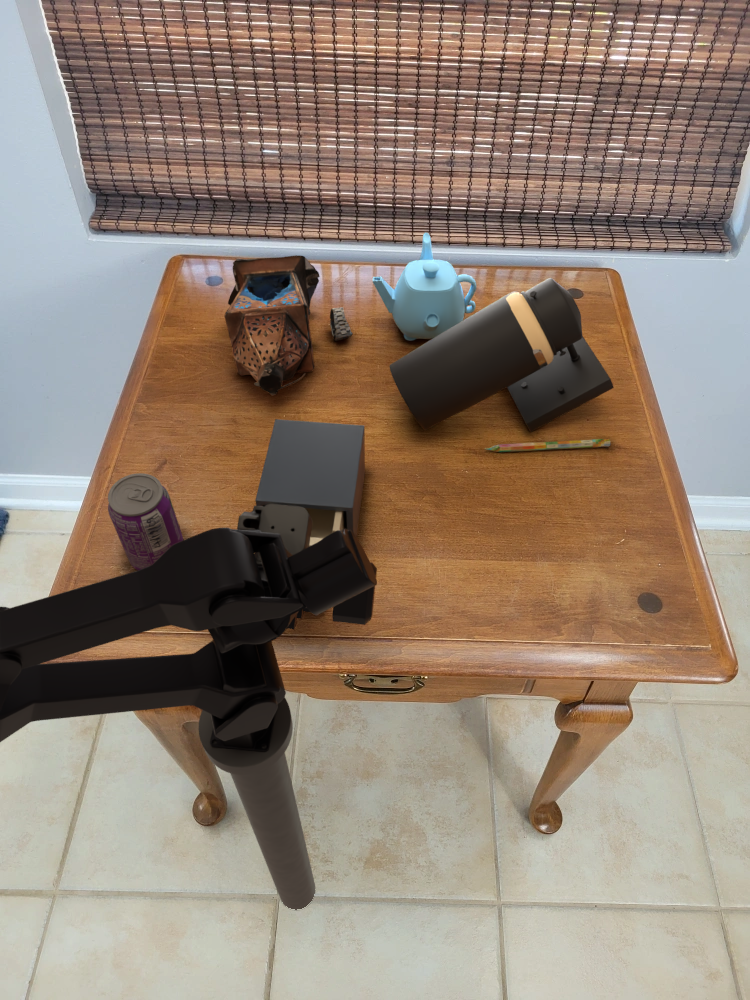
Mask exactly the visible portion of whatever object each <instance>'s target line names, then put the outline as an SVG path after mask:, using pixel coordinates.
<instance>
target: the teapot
mask: <svg viewBox="0 0 750 1000" xmlns="http://www.w3.org/2000/svg"><path fill="white" fill-rule="evenodd" d="M432 248H433V247H432V239H431V235H430V233H429V232H424V233H423V235H422V247H421V252H420V257H419V259H416V260H412V261H410V262H408V263H407V264H406V266H405V267H404V269H403V270H402V272H401V274H400V276H399V278H398V280H397V282H396V284H395V288H392V286H391V285H390V284H389V283H388V282H387V281H386V280H385V279H384V278H383V276H372V284H373V285H374V287H375V289H376V291H377V293H378V295H379V297H380V298H381V300H382V302H383V304H384V306H385V308H386V310H387V312H388V313H389V314H391V316H392V319H393V321H394V323H395V325H396V327H397V328H398V329H399V331H400V332H401V333H402V334H403V338H404V339H405V340H406V341H410V342H412V341H415V340H417V339H421V340H422V339H424V340H431V339H433V338H434V337H436V336H438V335H439V334H441V333H443V332H444V331H446V330H448V329H449V328H451V327H453V326H454V325H456V324H458V323H459V322H461V321H463V320H465V314H471V313H474V312H475V310H476V303H475V301H474V300H472V299H473V298H474V295H475V293H476V291H477V281H476V279H475V278H474V277H473V276H471V275H469V274H466V273H465V274H464V273H462V274H457V272H456V270H455V268H454V266H453V265H452V264H451V263H450V262H448V261H446V260H443V259H434V255H433V249H432ZM461 283H469V284H470V288H469V290H468V291H467V294H466V295H465V294H464V289H463V287H462V284H461Z"/></svg>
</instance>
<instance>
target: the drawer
mask: <svg viewBox="0 0 750 1000" xmlns="http://www.w3.org/2000/svg"><path fill="white" fill-rule="evenodd" d="M305 509H306V510H307V511H308V513H309V515H310V517H311V519H312V522H313V525H312V530H311V537H310V544H309V546H311V545H313V544H315V543H317V542H319V541H320V540H322V539H323V538H325V537H326V536H328V535H329V534H331V533H333V532H335V531H337V530H341V531H342V530H344V529H346V528H347V518H346V511H335V510H323V509H310V508H305Z"/></svg>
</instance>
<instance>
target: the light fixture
mask: <svg viewBox="0 0 750 1000" xmlns="http://www.w3.org/2000/svg"><path fill="white" fill-rule="evenodd" d="M388 367H389V372H390V374H391V377H392V380H393V382H394V384H395V386H396V388H397V390H398V393H399V394H400V396H401V398H402V401H404V403H405V405H406V407H407V409H408V410H409V411H410V413H411V415H412V417H413V418H414V419H415V421H416V422H417V423H418V425H419V426H420V427H421V428H422V429H423V430H424V431H427V430H429V429H431V428H433V427H435V426H437V425H438V424H440V423H443V422H444V421H446V420H448V419H450V418H452V417H454V416H456V415H458V414H459V413H462V412H464V411H465V410H467V409H469V408H471V407H473V406H475V405H477V404H478V403H481V402H482V401H485V400H486V399H488V398H490V397H492V396H494V395H495V394H497V393H499V392H501V391H503V390H505V389H507V390H508V392H509V395H510V397H511V398H512V400H513V402H514V404H515V405H516V408H517V410H518V411H519V414H520V416H521V417H522V419H523V421H524V424H525V425H526V427H527V428H528V431H529V432H530V433H532V432H534V431H536V430H537V429H539V428H541V427H543V426H545V425H547V424H548V423H549V424H550V423H551V422H552V421H554V420H556V419H558V418H560V417H562V416H564V415H566V414H567V413H570V412H571V411H573V410H575V409H577V408H578V407H580V406H583V405H585V404H586V403H588V402H590V401H593V400H594V399H596V398H597V397H599V396H601V395H603V394H605V393H607V392H609V391H611V390H613V389H614V388H615V387H614V384H613V382H612V378H611V376H610V375H609V374H608V372H607V371H606V369H605V368H604V367H603V365H602V363H601V362H600V360H599V358H598V357H597V355H596V354H595V352H594V351H593V349H592V348H591V347H590V345H589V344H588V342H587V340H586V339H585V337H584V336H583V326H582V314H581V311H580V308H579V306H578V304H577V302H576V300H575V299H574V297H573V295H572V294H571V293H570V291H569V290H568V289H566V288H565V287H564V286H562V285H561V284H560V283H559V282H558V281H556V279H553V278H552V277H548V278H546V279H544V280H543V281H541V282H539V283H538V284H536V285H533V286H532V287H531V288H529V289H527V290H525V291H524V290H522V291H520V292H519V291H511V292H509V293H507V294H505V295H503V296H502V297H500V298H499V299H497V300H495V301H493V302H492V303H489V304H488V305H487V306H485V307H482V308H481V309H479V310H478V311H476V312H475V313H473V314H471V315H470V316H468V317H466V318H464V319H463V321H461V322H459V323H458V324H456V325H454V326H453V327H451V328H449V329H448V330H446V331H444V332H443V333H441V334H439V335H438V336H436V337H434V338H433V339H429V340H428V341H426V342H425V343H423V344H421V345H420V346H418V347H416V348H415V349H413V350H412V351H409V352H408V353H407V354H404V355H403V356H402V357H400V358H398V359H397V360H395V361H394V362H392V363H390V364H389V366H388Z"/></svg>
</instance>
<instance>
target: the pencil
mask: <svg viewBox="0 0 750 1000" xmlns="http://www.w3.org/2000/svg"><path fill="white" fill-rule="evenodd" d="M611 443H612V442H611V439H610V438H609V437H608V438H592V439H579V440H559V441H555V440H554V441H538V442H519V443H501V444H500V443H498V444H495V445H492V446H489V447H485V448H484V451H485V450H486V451H492V452H497V453H506V452H507V453H508V452H509V453H510V452H528V451H549V450H565V449H566V450H567V449H570V450H571V449H588V448H589V449H590V448H603V447H605V448H609V447H610V446H611V445H612V444H611Z"/></svg>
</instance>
